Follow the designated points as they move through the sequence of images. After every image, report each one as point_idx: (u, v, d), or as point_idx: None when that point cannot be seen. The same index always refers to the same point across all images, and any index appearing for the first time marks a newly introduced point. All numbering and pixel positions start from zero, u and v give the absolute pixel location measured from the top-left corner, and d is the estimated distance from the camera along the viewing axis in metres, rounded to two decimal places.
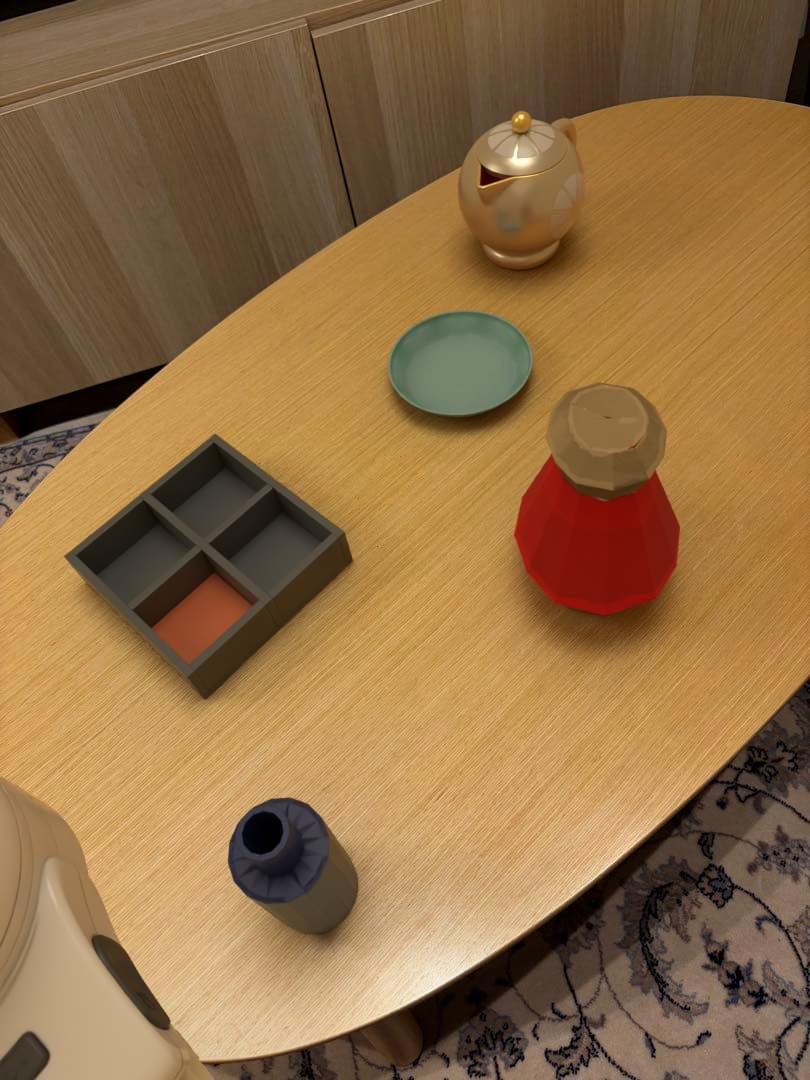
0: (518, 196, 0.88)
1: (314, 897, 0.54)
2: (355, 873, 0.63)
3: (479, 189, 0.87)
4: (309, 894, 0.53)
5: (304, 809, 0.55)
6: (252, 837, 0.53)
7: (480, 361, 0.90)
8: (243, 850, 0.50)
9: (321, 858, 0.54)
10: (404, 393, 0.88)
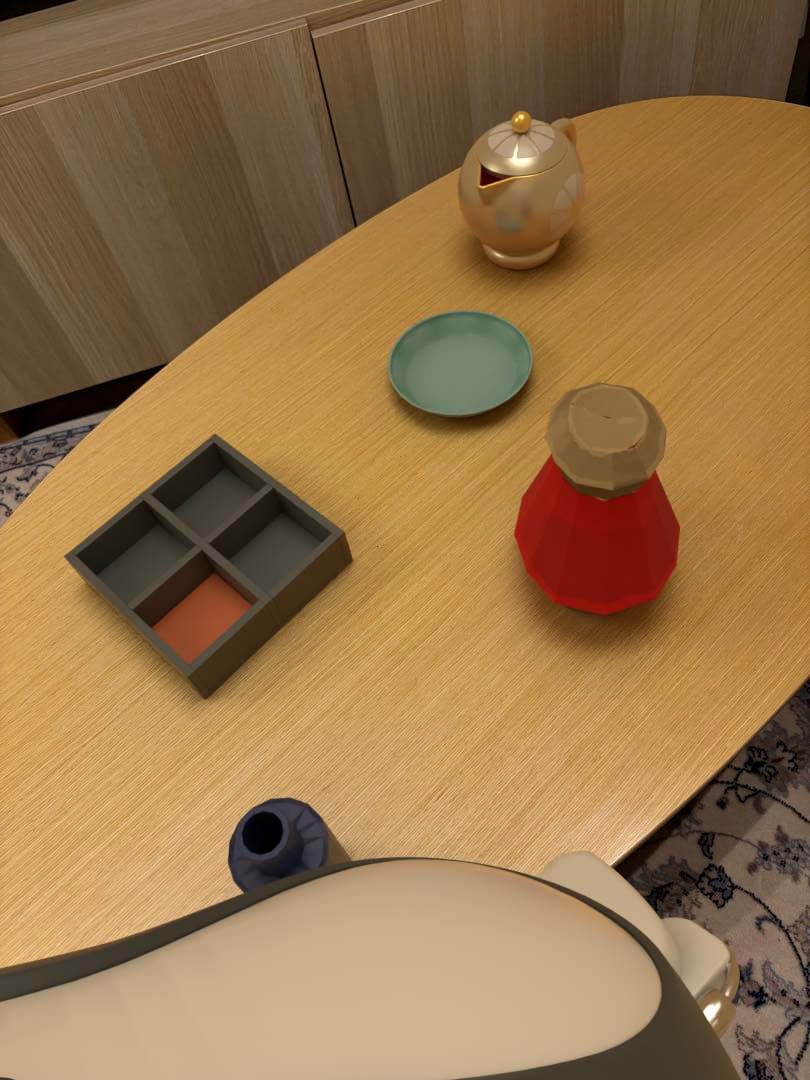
0: (518, 196, 0.88)
1: None
2: None
3: (479, 189, 0.87)
4: None
5: (304, 809, 0.55)
6: (252, 837, 0.53)
7: (480, 361, 0.90)
8: (243, 850, 0.50)
9: (321, 858, 0.54)
10: (404, 393, 0.88)
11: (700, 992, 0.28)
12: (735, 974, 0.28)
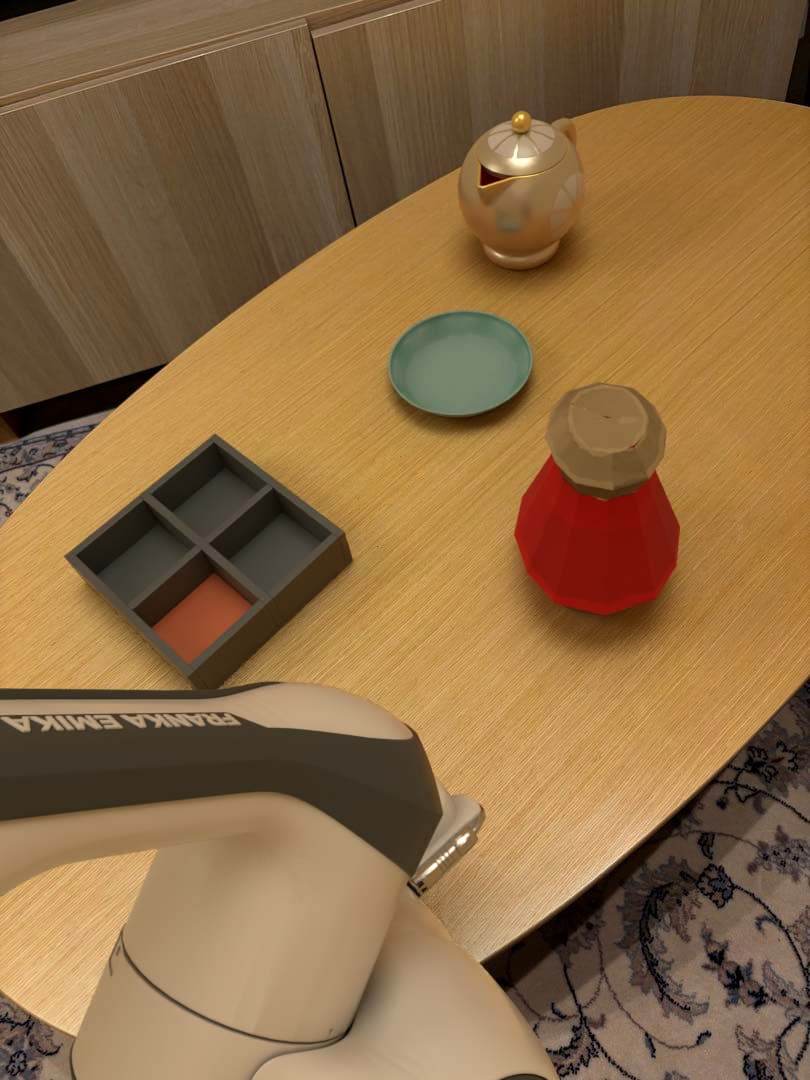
0: (518, 196, 0.88)
1: None
2: None
3: (479, 189, 0.87)
4: None
5: None
6: None
7: (480, 361, 0.90)
8: None
9: None
10: (404, 393, 0.88)
11: (460, 829, 0.48)
12: (480, 819, 0.48)
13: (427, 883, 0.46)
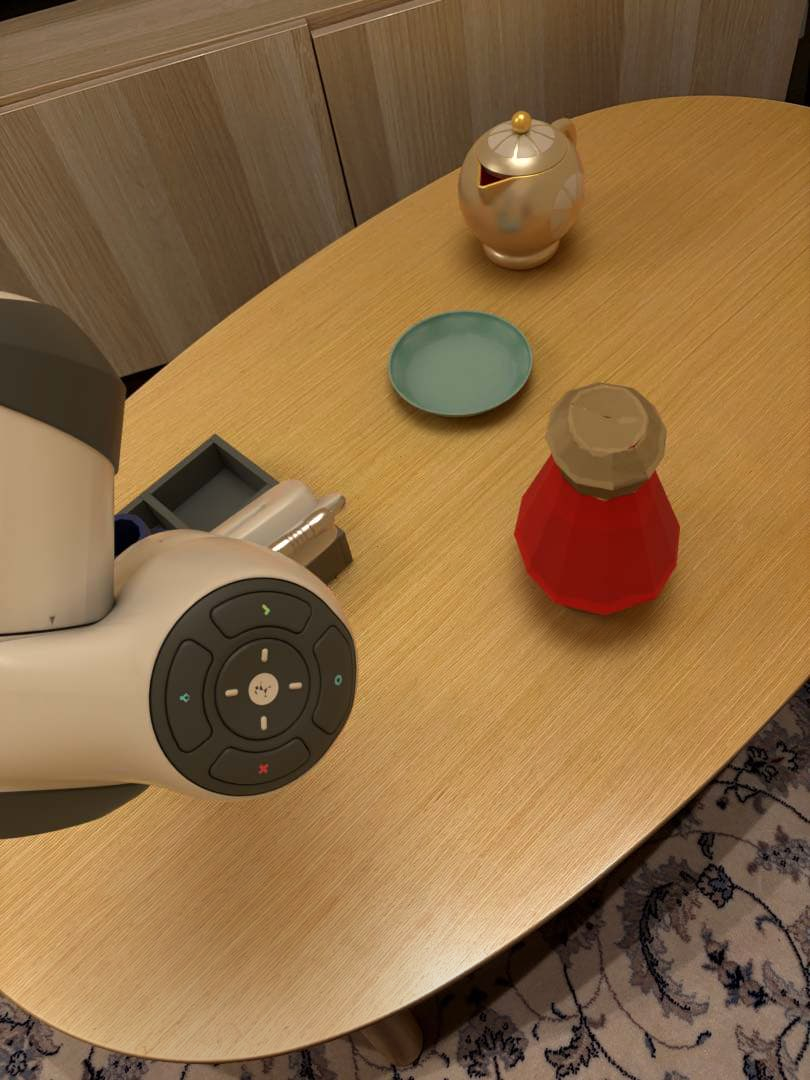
0: (518, 196, 0.88)
1: None
2: None
3: (479, 189, 0.87)
4: None
5: None
6: None
7: (480, 361, 0.90)
8: None
9: None
10: (404, 393, 0.88)
11: None
12: (339, 503, 0.45)
13: None
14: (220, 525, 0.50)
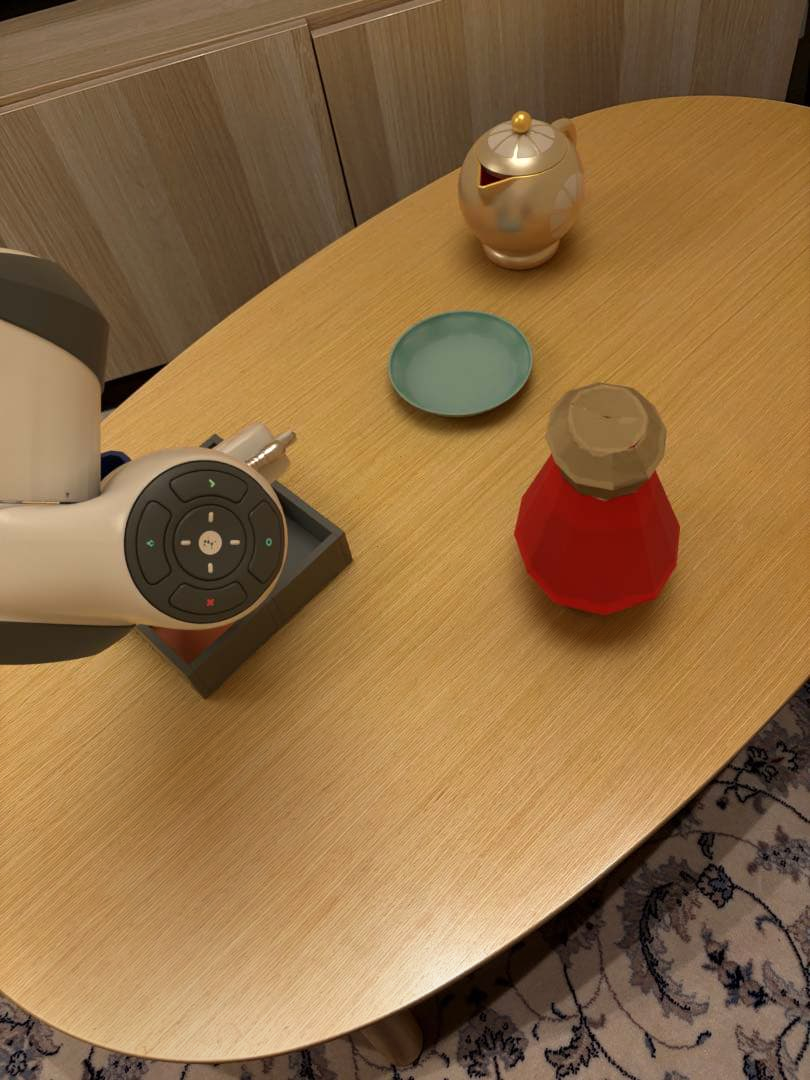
0: (518, 196, 0.88)
1: None
2: None
3: (479, 189, 0.87)
4: None
5: None
6: None
7: (480, 361, 0.90)
8: None
9: None
10: (404, 393, 0.88)
11: None
12: (289, 436, 0.54)
13: None
14: None
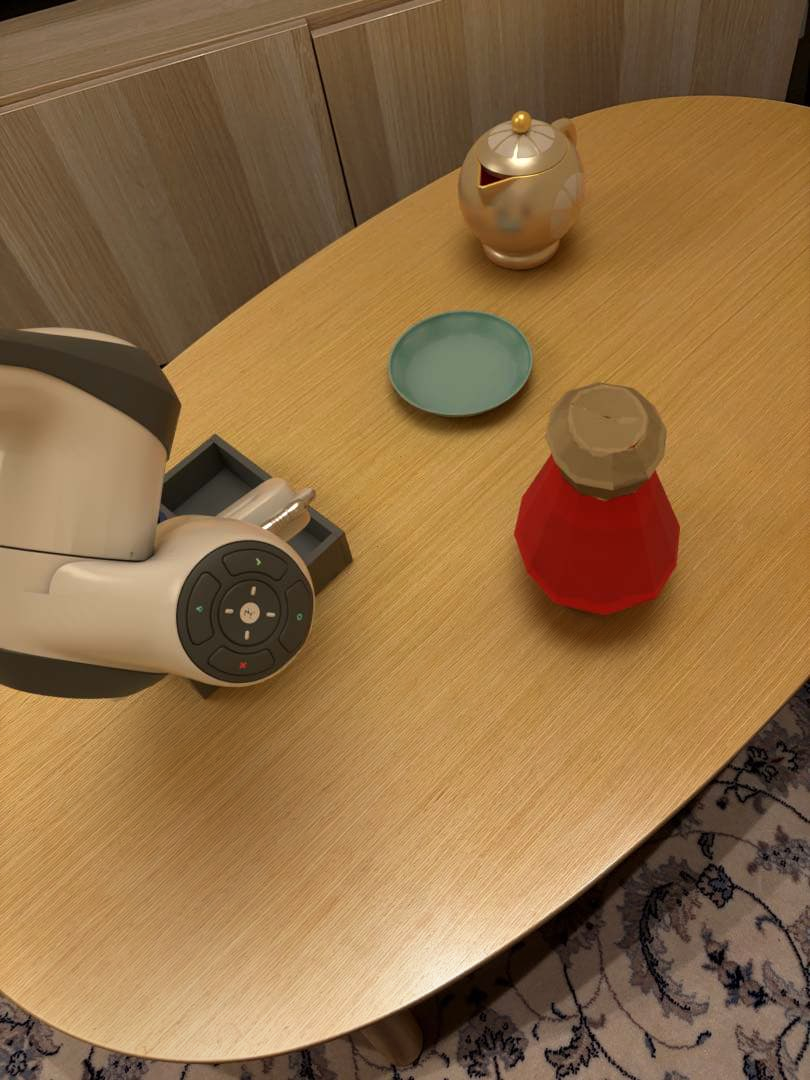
0: (518, 196, 0.88)
1: None
2: None
3: (479, 189, 0.87)
4: None
5: None
6: None
7: (480, 361, 0.90)
8: None
9: None
10: (404, 393, 0.88)
11: None
12: (310, 495, 0.59)
13: None
14: (220, 513, 0.64)
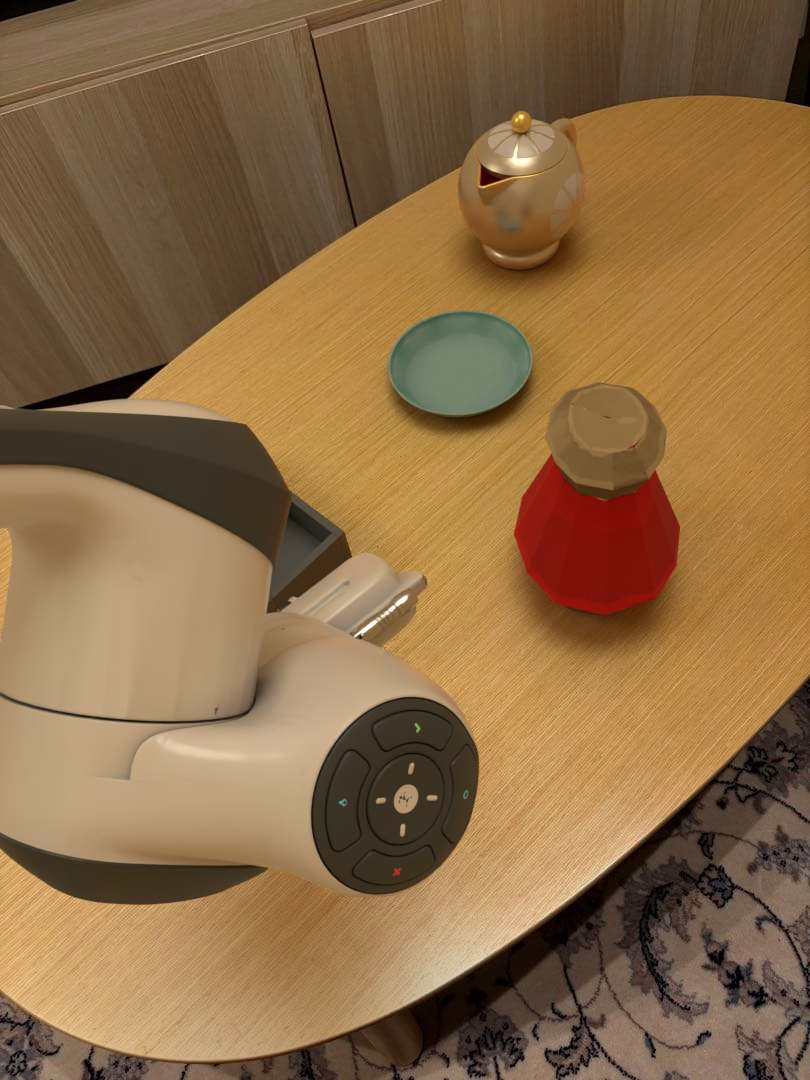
0: (518, 196, 0.88)
1: None
2: None
3: (479, 189, 0.87)
4: None
5: None
6: None
7: (480, 361, 0.90)
8: None
9: None
10: (404, 393, 0.88)
11: None
12: (422, 583, 0.48)
13: (366, 637, 0.46)
14: (301, 597, 0.53)
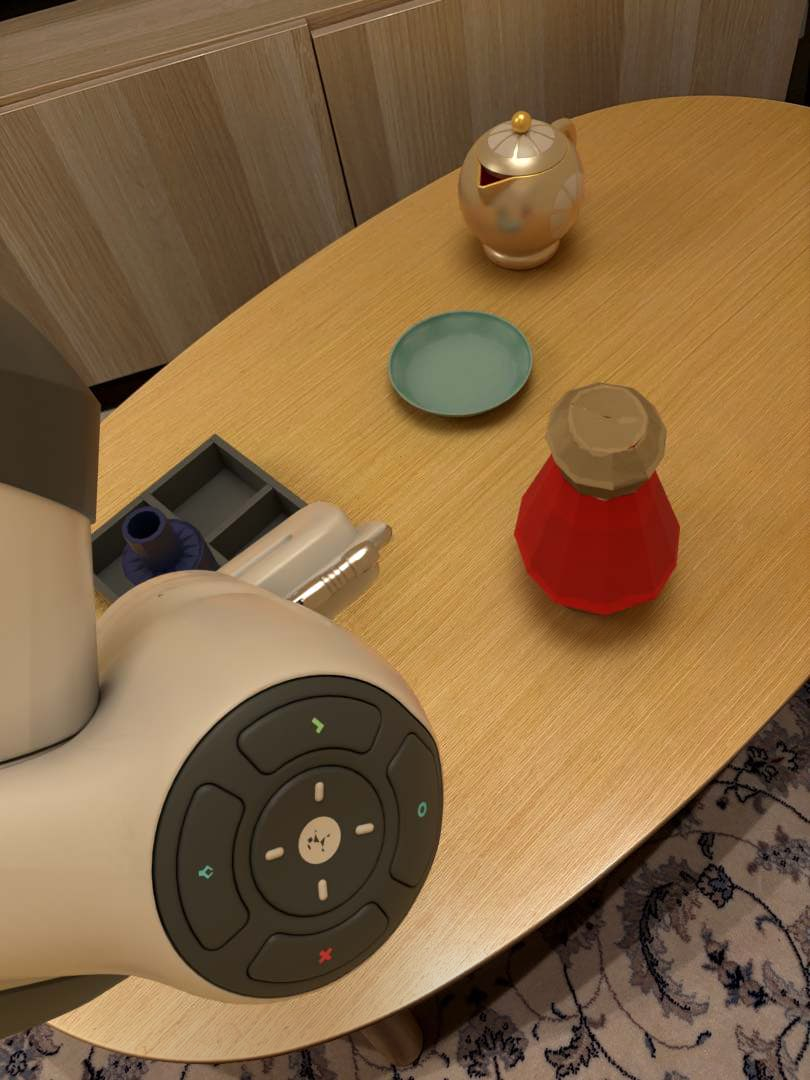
0: (518, 196, 0.88)
1: None
2: None
3: (479, 189, 0.87)
4: None
5: (186, 526, 0.67)
6: (139, 537, 0.65)
7: (480, 361, 0.90)
8: (127, 536, 0.62)
9: (196, 558, 0.66)
10: (404, 393, 0.88)
11: None
12: (385, 534, 0.36)
13: (308, 604, 0.34)
14: (235, 558, 0.41)
